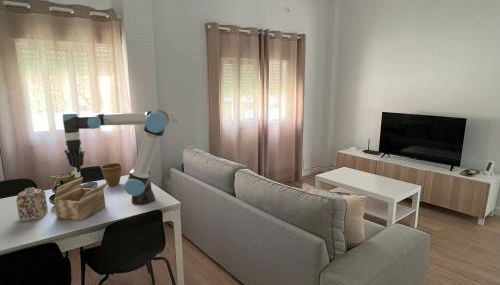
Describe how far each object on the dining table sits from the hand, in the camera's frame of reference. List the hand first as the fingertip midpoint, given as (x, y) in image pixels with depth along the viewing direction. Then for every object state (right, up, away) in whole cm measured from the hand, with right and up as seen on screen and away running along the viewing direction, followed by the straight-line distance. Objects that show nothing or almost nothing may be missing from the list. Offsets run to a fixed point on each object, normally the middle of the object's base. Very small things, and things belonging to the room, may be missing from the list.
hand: (77, 176), depth 185 cm
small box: (-7, -18, +28) cm, 35 cm away
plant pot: (-2, -13, +54) cm, 55 cm away
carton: (0, -23, +5) cm, 23 cm away
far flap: (-7, -7, +4) cm, 11 cm away
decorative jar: (-27, -24, +1) cm, 37 cm away
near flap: (+11, -8, -1) cm, 14 cm away
